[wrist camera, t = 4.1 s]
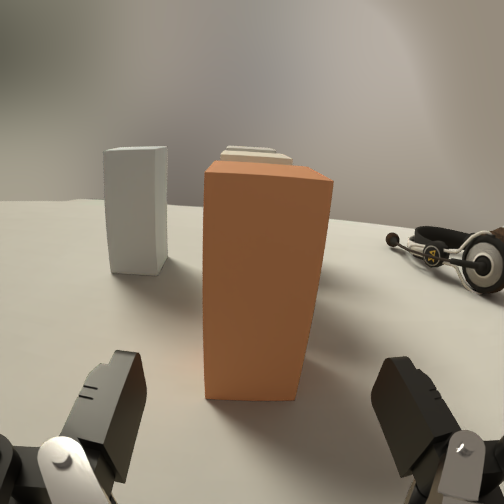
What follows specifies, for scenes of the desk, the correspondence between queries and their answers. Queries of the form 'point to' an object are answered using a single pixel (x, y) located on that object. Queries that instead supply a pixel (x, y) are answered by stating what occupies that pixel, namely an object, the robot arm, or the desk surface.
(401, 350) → the desk surface
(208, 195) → the rust block
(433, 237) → the headset
